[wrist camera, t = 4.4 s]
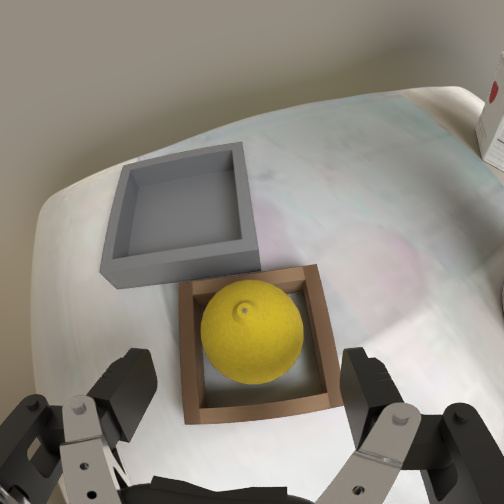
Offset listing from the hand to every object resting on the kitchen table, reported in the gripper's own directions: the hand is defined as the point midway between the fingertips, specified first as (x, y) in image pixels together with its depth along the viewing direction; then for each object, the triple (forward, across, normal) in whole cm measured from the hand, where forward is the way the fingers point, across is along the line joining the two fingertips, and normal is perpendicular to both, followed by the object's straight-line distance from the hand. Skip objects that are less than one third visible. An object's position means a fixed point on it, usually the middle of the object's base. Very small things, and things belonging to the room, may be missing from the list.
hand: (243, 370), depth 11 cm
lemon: (+7, 0, +4) cm, 8 cm away
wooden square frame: (+7, 0, +4) cm, 8 cm away
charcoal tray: (+15, +6, -4) cm, 17 cm away
